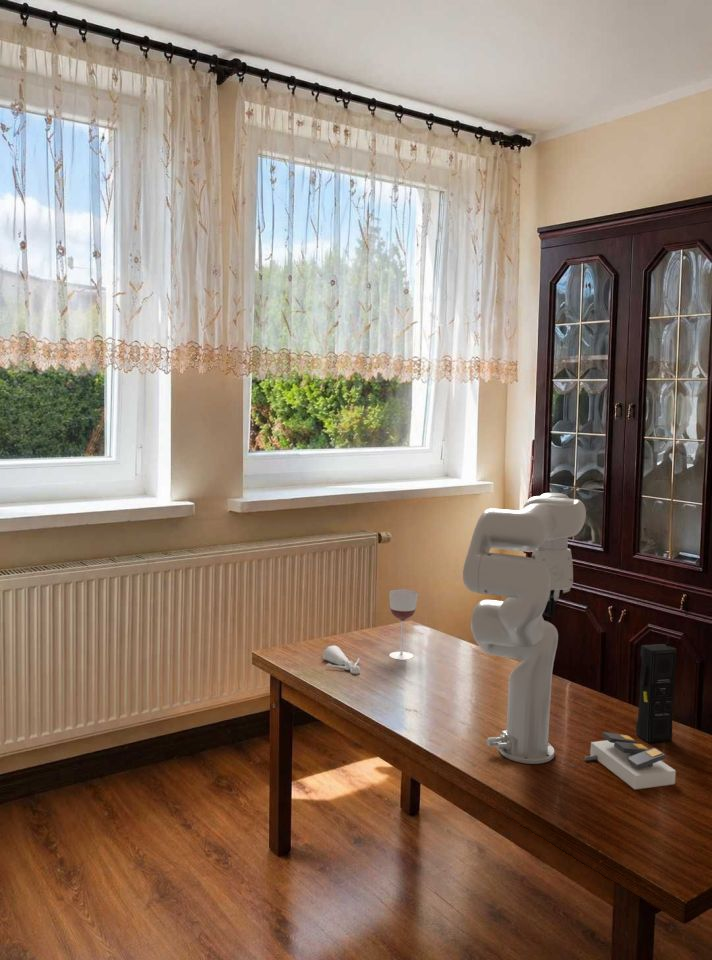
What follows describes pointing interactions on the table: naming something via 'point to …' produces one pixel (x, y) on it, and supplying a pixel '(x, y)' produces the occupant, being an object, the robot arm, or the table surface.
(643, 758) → the rocker far end
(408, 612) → the wineglass
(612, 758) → the rocker switch panel
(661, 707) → the portable radio
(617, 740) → the rocker near arm
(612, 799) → the table surface
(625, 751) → the rocker middle
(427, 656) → the table surface
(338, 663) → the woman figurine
